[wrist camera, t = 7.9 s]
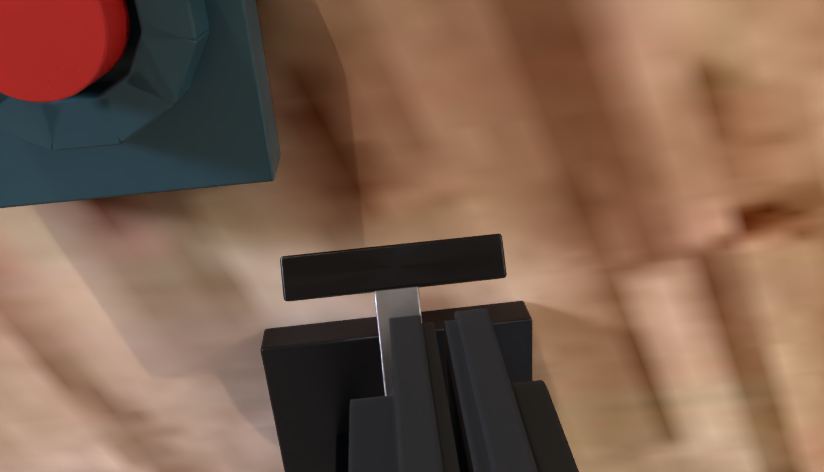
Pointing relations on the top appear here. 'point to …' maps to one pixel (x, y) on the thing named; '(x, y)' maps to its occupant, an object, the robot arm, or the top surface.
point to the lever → (392, 277)
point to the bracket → (355, 377)
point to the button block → (151, 113)
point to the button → (59, 45)
